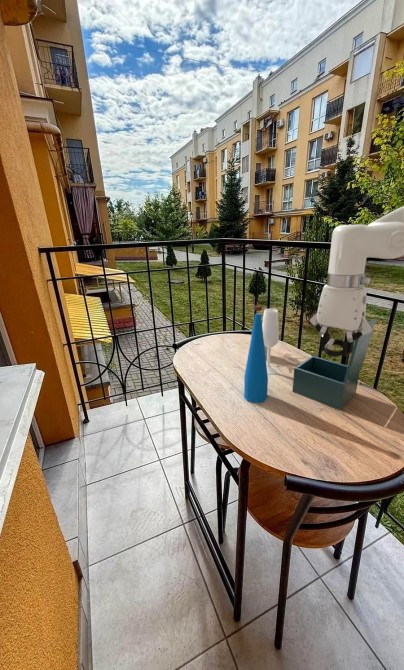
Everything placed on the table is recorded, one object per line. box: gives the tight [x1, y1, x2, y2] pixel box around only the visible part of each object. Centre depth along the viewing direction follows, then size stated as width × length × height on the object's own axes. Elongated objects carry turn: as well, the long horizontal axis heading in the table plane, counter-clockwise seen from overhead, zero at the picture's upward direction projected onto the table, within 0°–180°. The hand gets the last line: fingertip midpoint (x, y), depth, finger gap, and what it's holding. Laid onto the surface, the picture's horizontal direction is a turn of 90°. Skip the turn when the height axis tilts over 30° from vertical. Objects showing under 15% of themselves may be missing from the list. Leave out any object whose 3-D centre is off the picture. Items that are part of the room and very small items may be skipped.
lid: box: [344, 318, 377, 384], centre depth 80 cm, size 16×13×1 cm
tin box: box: [291, 355, 361, 411], centre depth 91 cm, size 16×13×9 cm
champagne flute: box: [262, 308, 280, 376], centre depth 104 cm, size 7×7×24 cm
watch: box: [324, 338, 345, 358], centre depth 72 cm, size 8×5×4 cm, turn 132°
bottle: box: [243, 304, 269, 404], centre depth 86 cm, size 7×7×30 cm
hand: (335, 351), depth 72 cm, fingers closed on watch, 4 cm apart
